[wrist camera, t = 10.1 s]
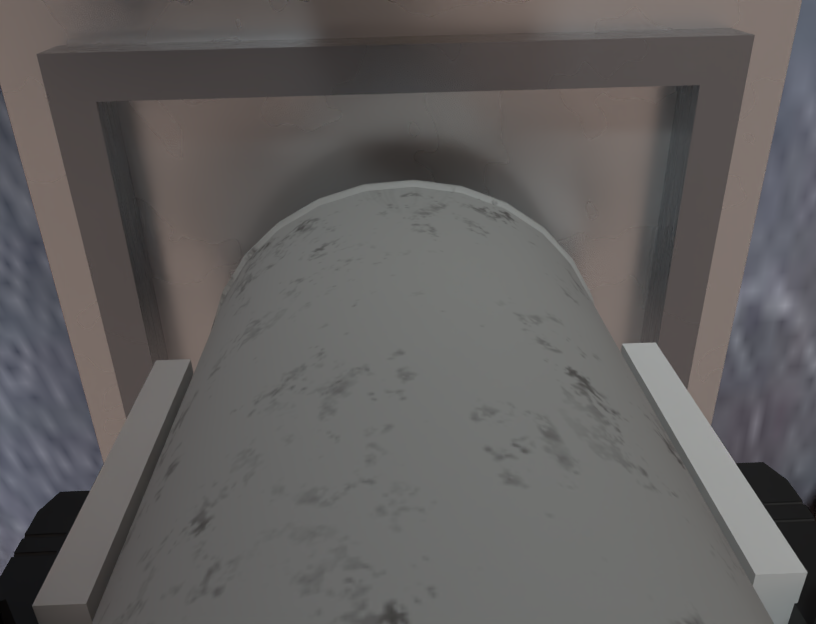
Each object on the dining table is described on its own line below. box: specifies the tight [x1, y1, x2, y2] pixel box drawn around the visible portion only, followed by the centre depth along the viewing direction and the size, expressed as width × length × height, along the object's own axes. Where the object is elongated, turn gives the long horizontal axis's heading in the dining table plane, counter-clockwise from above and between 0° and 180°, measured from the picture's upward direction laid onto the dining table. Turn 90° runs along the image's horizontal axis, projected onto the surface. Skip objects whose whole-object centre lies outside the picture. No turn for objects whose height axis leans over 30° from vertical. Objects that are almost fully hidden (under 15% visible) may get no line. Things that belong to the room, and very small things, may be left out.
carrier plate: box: [0, 0, 802, 463], centre depth 17 cm, size 24×18×6 cm
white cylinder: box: [92, 180, 774, 624], centre depth 13 cm, size 10×10×12 cm
